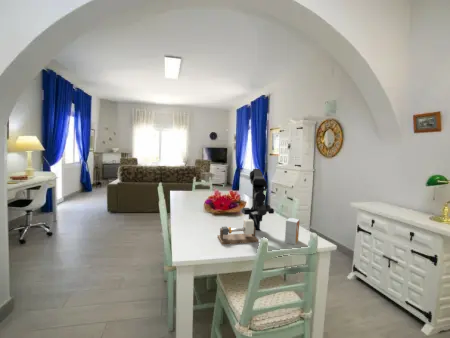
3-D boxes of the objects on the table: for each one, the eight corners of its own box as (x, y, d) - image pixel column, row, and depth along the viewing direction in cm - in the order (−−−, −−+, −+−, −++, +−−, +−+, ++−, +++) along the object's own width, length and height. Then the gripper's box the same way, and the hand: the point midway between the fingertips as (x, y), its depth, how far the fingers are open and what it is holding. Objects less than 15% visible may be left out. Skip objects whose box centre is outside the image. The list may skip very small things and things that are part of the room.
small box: (295, 244, 136) (296, 222, 135) (284, 242, 139) (285, 220, 138) (298, 240, 143) (299, 219, 142) (287, 238, 146) (289, 217, 145)
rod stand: (251, 235, 149) (252, 223, 148) (258, 242, 138) (259, 228, 138) (217, 237, 143) (217, 224, 143) (221, 244, 133) (222, 231, 132)
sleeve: (250, 231, 145) (251, 219, 144) (253, 233, 141) (254, 221, 140) (243, 231, 144) (243, 219, 143) (245, 234, 139) (246, 221, 139)
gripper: (248, 202, 132) (247, 230, 133) (279, 201, 137) (277, 228, 138) (241, 198, 142) (240, 223, 144) (270, 197, 147) (269, 222, 148)
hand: (257, 224), depth 143 cm, fingers closed
